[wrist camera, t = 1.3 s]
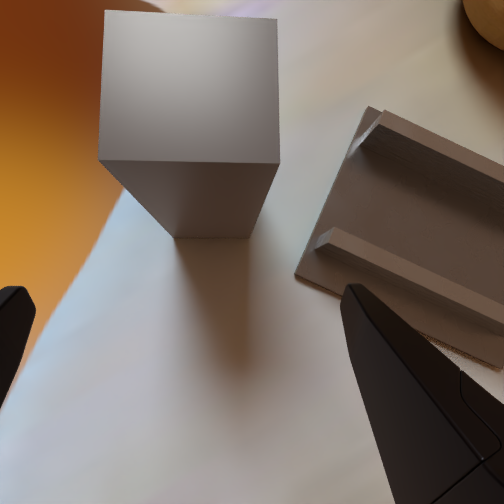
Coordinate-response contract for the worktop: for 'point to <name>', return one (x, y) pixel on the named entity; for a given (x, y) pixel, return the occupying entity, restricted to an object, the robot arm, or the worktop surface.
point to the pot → (487, 19)
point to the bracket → (417, 233)
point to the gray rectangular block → (191, 117)
